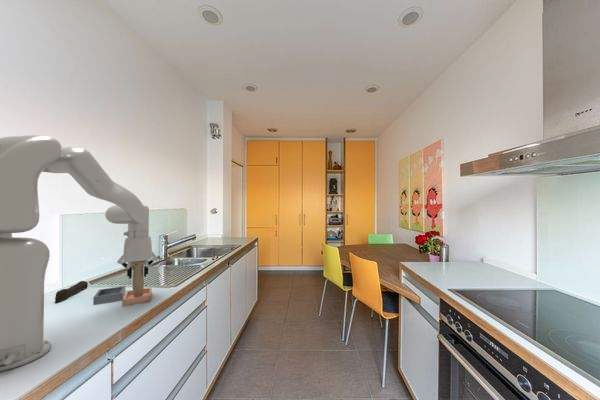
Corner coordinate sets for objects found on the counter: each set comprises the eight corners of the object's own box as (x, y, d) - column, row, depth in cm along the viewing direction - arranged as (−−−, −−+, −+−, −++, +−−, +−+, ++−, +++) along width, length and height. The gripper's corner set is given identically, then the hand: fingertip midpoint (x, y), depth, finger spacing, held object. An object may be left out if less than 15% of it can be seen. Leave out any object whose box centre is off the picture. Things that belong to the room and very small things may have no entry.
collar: (122, 300, 104) (122, 293, 104) (93, 304, 99) (93, 297, 99) (125, 292, 113) (125, 286, 113) (99, 296, 109) (99, 289, 109)
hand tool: (78, 289, 118) (78, 279, 119) (88, 288, 119) (88, 279, 119) (47, 305, 100) (47, 293, 100) (59, 304, 101) (59, 293, 101)
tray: (150, 301, 103) (150, 295, 103) (122, 306, 98) (122, 300, 98) (151, 292, 113) (151, 287, 113) (126, 296, 108) (126, 291, 108)
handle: (144, 297, 104) (144, 261, 104) (127, 299, 102) (127, 262, 102) (148, 293, 108) (148, 259, 109) (132, 295, 107) (132, 260, 107)
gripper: (112, 236, 98) (111, 282, 98) (161, 234, 106) (160, 276, 106) (115, 234, 105) (114, 277, 104) (161, 232, 113) (160, 272, 113)
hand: (137, 276), depth 105 cm, fingers open, 4 cm apart
